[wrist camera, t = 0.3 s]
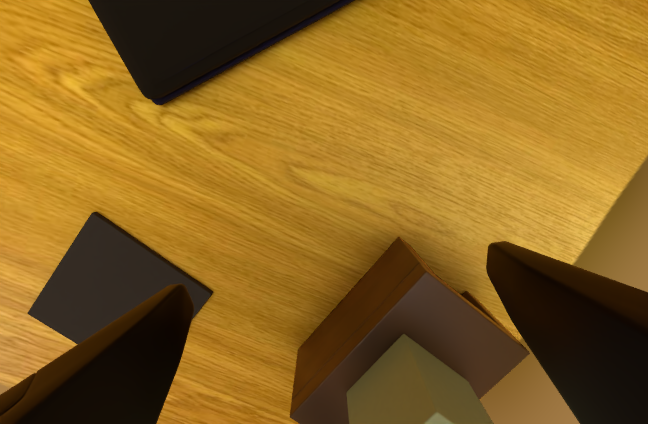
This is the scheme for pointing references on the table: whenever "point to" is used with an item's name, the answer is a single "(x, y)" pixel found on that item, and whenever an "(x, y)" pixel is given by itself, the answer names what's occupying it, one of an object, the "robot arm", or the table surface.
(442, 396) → the block
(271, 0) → the laptop
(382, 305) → the block
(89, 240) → the mat
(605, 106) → the table surface
